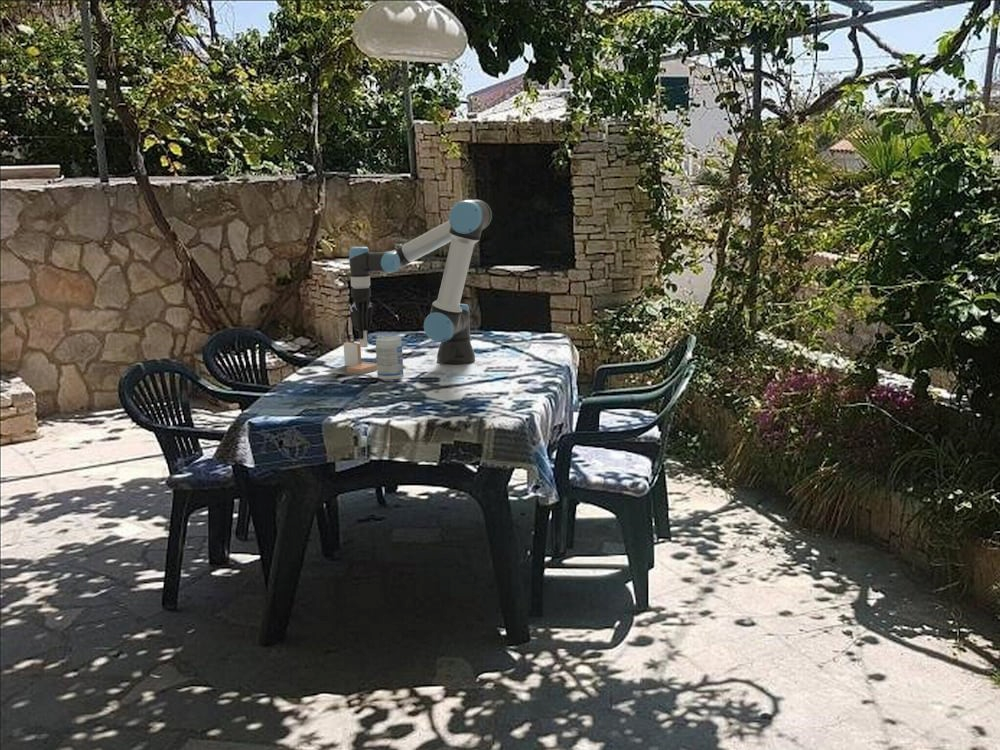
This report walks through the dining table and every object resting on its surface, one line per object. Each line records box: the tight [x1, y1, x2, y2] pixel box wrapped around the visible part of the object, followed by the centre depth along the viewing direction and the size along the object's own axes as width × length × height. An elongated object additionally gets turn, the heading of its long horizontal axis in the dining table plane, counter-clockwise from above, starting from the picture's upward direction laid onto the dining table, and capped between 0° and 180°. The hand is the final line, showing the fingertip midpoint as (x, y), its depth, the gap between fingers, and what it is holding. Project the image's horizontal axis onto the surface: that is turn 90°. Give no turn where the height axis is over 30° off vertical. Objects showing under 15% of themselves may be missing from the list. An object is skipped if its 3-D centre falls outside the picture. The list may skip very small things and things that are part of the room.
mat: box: [322, 360, 377, 377], centre depth 339 cm, size 17×22×1 cm
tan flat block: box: [343, 341, 362, 366], centre depth 342 cm, size 7×2×9 cm, turn 57°
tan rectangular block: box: [347, 363, 377, 375], centre depth 333 cm, size 7×2×9 cm
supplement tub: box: [375, 336, 404, 380], centre depth 321 cm, size 10×10×15 cm
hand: (363, 346), depth 347 cm, fingers closed
